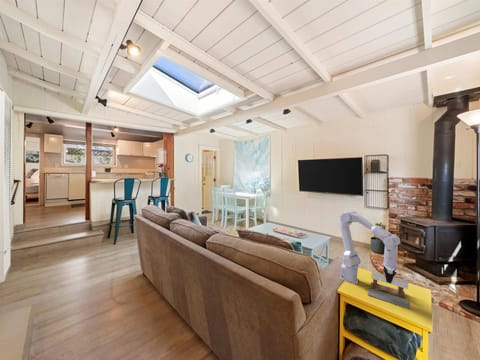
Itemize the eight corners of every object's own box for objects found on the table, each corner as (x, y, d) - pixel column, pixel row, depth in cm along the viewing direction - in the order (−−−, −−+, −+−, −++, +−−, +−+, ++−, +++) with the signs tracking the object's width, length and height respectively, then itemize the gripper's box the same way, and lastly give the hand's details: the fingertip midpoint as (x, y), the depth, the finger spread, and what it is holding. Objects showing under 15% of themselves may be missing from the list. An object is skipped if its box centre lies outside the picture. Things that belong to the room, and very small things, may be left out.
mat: (367, 295, 112) (367, 294, 112) (368, 288, 119) (368, 287, 119) (409, 309, 102) (409, 308, 102) (407, 300, 108) (407, 300, 108)
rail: (371, 278, 113) (371, 273, 113) (371, 276, 115) (371, 271, 115) (407, 289, 104) (408, 283, 104) (407, 286, 106) (407, 281, 106)
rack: (370, 287, 119) (371, 277, 119) (371, 283, 124) (371, 273, 124) (405, 298, 110) (406, 287, 110) (404, 293, 115) (405, 282, 114)
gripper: (400, 264, 101) (398, 290, 101) (398, 254, 112) (397, 277, 113) (383, 260, 105) (381, 285, 105) (383, 251, 116) (381, 273, 117)
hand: (388, 281), depth 110 cm, fingers closed on rail, 3 cm apart
